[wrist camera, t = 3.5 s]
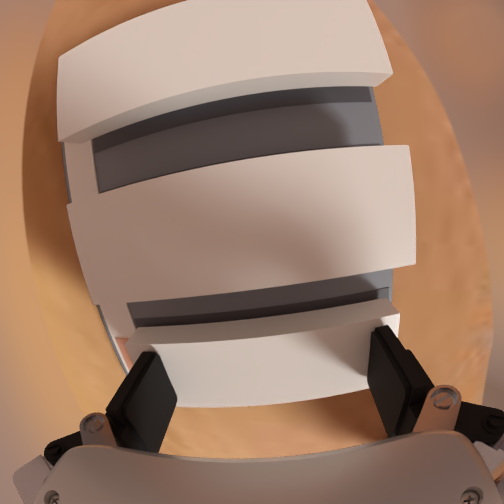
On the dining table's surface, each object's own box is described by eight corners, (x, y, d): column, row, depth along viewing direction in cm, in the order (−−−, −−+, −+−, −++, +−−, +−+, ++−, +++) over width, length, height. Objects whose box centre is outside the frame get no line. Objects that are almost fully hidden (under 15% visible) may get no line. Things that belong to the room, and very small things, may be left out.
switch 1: (376, 86, 8) (393, 73, 7) (81, 143, 9) (58, 141, 8) (350, 7, 7) (360, -12, 6) (79, 66, 8) (58, 57, 7)
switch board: (375, 362, 15) (384, 379, 13) (145, 383, 16) (136, 399, 14) (337, 15, 9) (344, -1, 8) (75, 77, 11) (58, 70, 9)
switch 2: (380, 363, 12) (390, 382, 11) (162, 386, 14) (153, 405, 12) (386, 297, 11) (400, 313, 10) (137, 327, 12) (124, 344, 11)
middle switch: (396, 251, 10) (415, 263, 8) (112, 289, 11) (93, 305, 9) (388, 148, 9) (408, 145, 7) (89, 199, 10) (66, 204, 8)
